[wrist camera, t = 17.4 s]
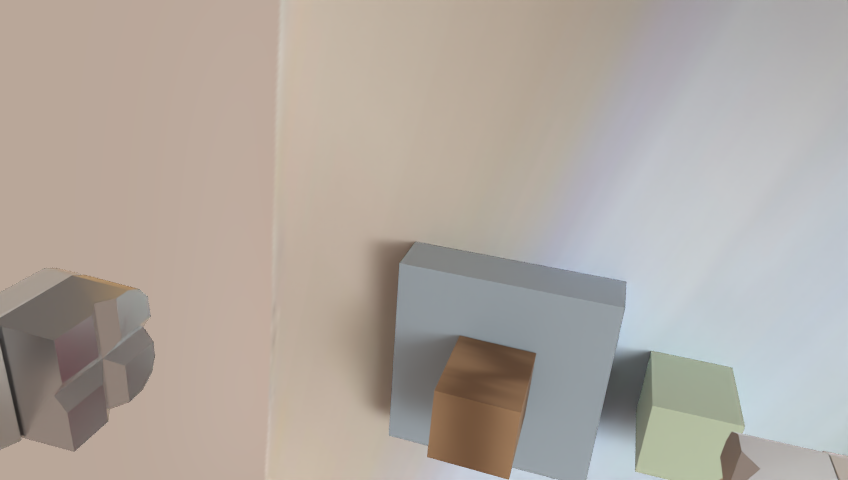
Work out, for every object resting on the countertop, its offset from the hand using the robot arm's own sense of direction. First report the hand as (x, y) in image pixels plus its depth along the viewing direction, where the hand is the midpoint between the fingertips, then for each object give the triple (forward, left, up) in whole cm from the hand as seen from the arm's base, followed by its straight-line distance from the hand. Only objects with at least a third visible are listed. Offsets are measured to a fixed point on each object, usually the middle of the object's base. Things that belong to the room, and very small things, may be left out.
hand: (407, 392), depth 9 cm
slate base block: (+2, +21, -34) cm, 40 cm away
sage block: (-10, +21, -33) cm, 40 cm away
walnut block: (+2, +21, -30) cm, 36 cm away
